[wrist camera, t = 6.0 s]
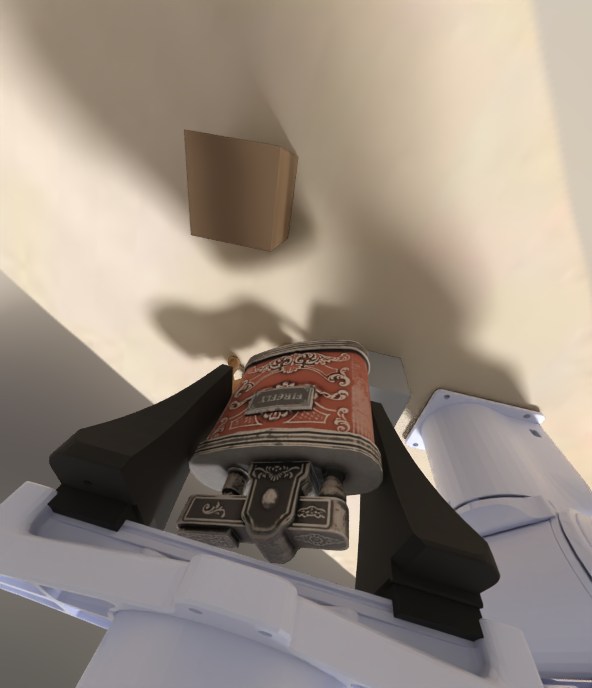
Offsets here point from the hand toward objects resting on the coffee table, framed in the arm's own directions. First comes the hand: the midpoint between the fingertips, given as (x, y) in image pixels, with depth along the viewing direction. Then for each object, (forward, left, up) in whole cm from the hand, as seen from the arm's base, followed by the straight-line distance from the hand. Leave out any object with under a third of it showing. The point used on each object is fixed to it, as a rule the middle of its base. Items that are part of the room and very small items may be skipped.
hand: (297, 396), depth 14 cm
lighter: (0, 0, -3) cm, 3 cm away
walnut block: (+6, -9, -10) cm, 14 cm away
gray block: (-5, +4, -10) cm, 12 cm away
